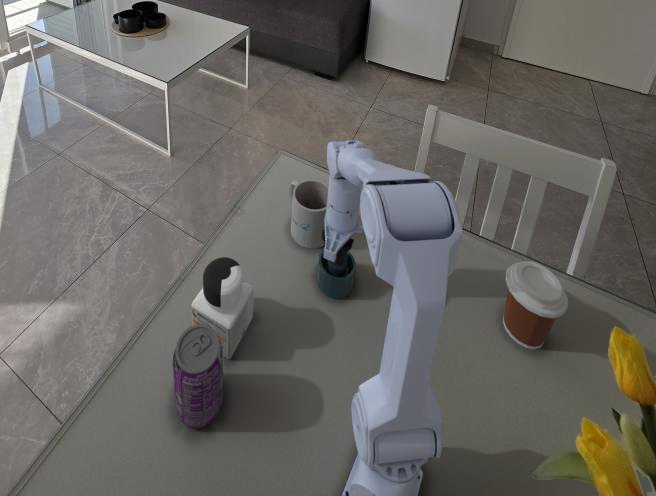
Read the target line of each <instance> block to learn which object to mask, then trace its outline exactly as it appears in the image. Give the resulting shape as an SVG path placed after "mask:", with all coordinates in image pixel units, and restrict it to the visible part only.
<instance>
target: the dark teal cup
mask: <svg viewBox="0 0 656 496" xmlns="http://www.w3.org/2000/svg"><path fill="white" fill-rule="evenodd" d="M323 257H324V248H323V249H322V250H321V251H320V253H319V254H318V261H317V271H316V282H317V286H318V288H319V289H320V291H321V292H322V293H323V294H324V295H325V296H326V297H328V298H330V299H334V300H342V299H345V298H347V297H348V296H349V295H350V294H351V293H352V292H353V289H354V286H355V285H354V284H355V277H356V269H357V268H356V266H357V263H356V260H355V257H354V255H353V254H352V253H351V252H350V250H349V251H347V252H346V254H345V257H346V260H347V267H346V275H345V277H334V276H332V275H330V274H329V273H327V264H328V260H327V259H325V258H323Z"/></svg>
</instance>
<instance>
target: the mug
mask: <svg viewBox="0 0 656 496" xmlns="http://www.w3.org/2000/svg"><path fill="white" fill-rule="evenodd" d="M328 187H329V185H328V184H327V183H325V182H323V181H320V180H317V179H305V180H302V181H299V180H293V181H291V183H290V185H289V199H290V203H291V218H290V234H291V237H292V238H293V240H294V241H295V243H297V244H298V245H299V246H301V247H303V248H305V249H310V250H312V249H313V250H315V249H320V248H322V247H325V245H326V244H325V242H324V241H323V240H322V231H323V229H324V226H325V221H324V220H325V214H326V210H327V199H328Z"/></svg>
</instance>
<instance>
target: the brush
mask: <svg viewBox="0 0 656 496" xmlns="http://www.w3.org/2000/svg"><path fill="white" fill-rule="evenodd" d="M346 267H347V260H346V257H345V256H344V259H343V262H342V264H341V265H339V264H337V263H335V262H332V261H330V260H328V264H327V273H329V274H330V275H332V276H334V277H345V275H346Z"/></svg>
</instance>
